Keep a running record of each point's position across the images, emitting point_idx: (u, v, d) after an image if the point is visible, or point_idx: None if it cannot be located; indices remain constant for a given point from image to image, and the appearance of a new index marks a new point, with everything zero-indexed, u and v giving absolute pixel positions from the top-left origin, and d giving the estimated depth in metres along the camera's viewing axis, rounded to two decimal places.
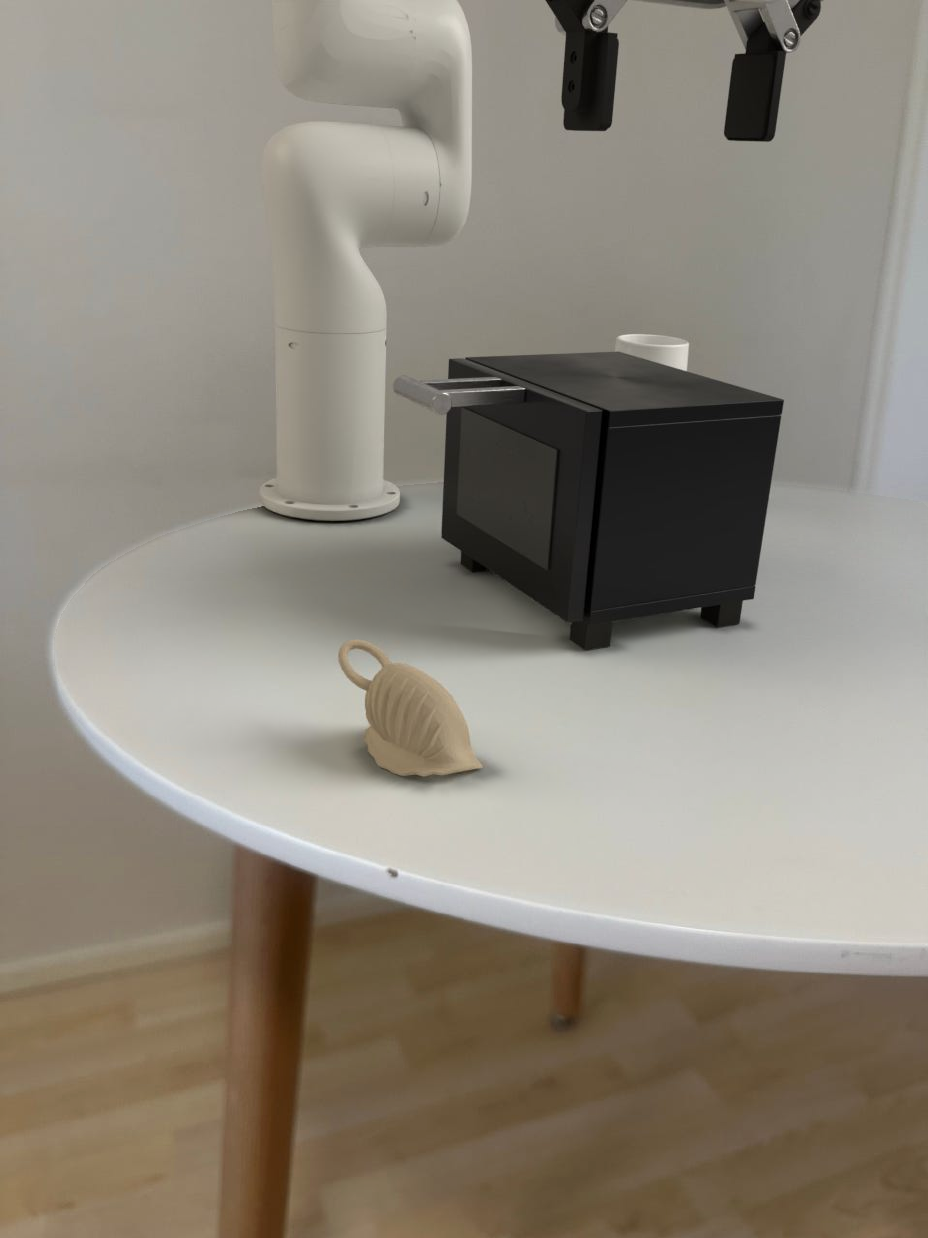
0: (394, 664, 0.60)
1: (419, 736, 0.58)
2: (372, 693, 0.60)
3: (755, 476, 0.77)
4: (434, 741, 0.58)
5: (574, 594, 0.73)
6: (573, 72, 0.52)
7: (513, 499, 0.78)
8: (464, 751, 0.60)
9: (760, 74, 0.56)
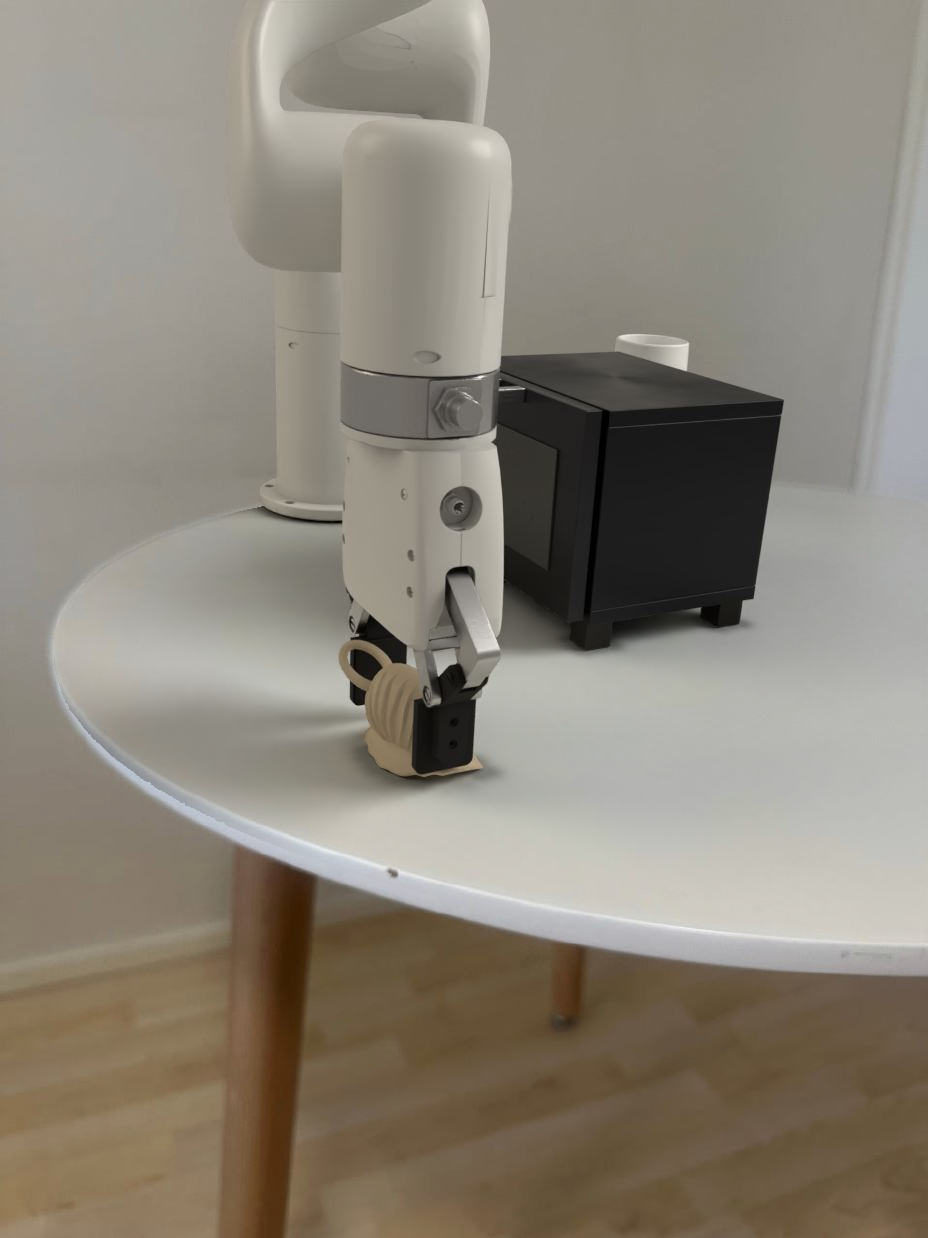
0: (394, 664, 0.60)
1: None
2: (372, 693, 0.60)
3: (755, 476, 0.77)
4: None
5: (574, 594, 0.73)
6: None
7: (513, 499, 0.78)
8: None
9: None
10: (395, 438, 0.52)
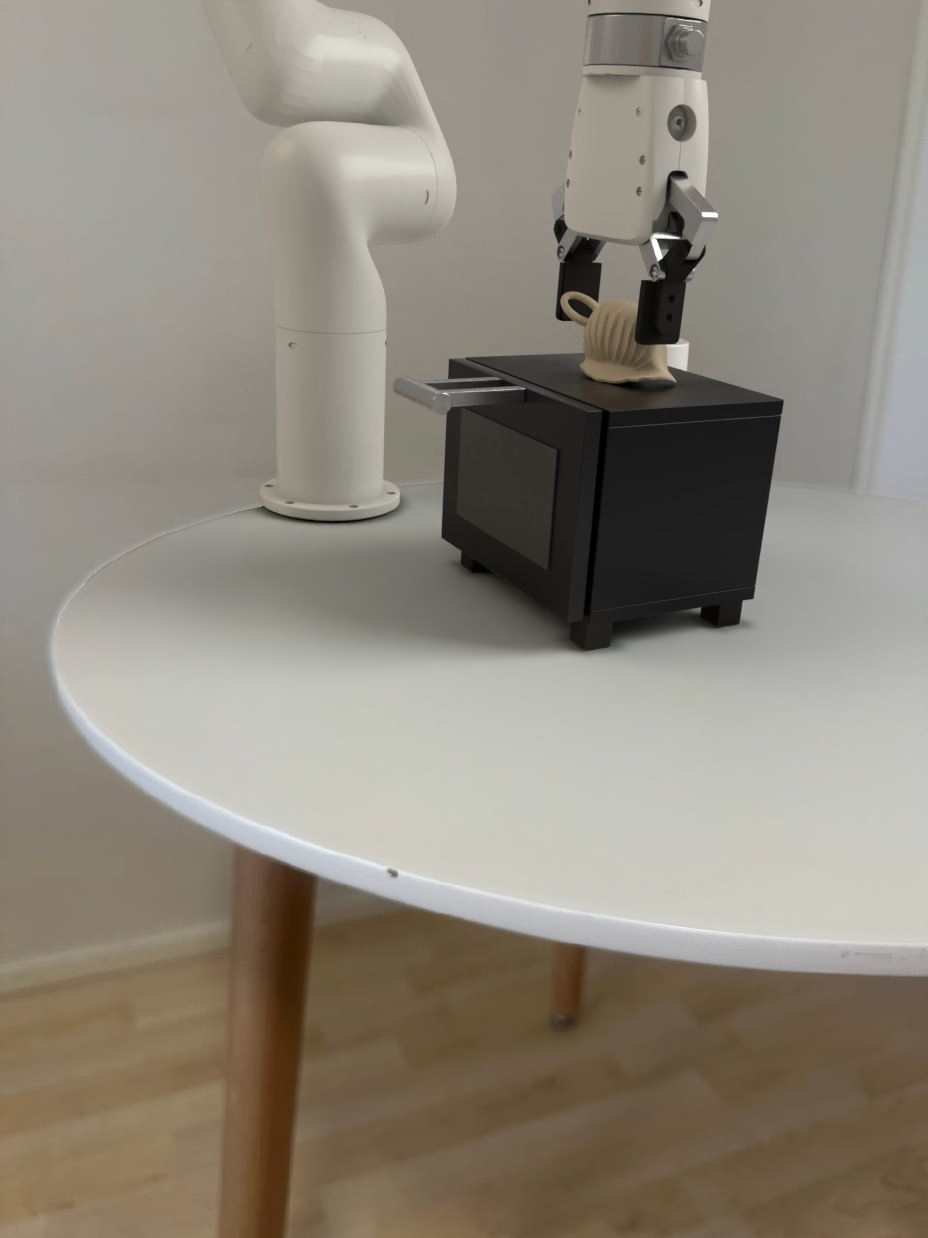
0: None
1: (633, 347, 0.76)
2: (591, 323, 0.78)
3: (755, 476, 0.77)
4: (645, 351, 0.76)
5: (574, 594, 0.73)
6: None
7: (513, 499, 0.78)
8: (663, 367, 0.78)
9: None
10: (635, 66, 0.69)
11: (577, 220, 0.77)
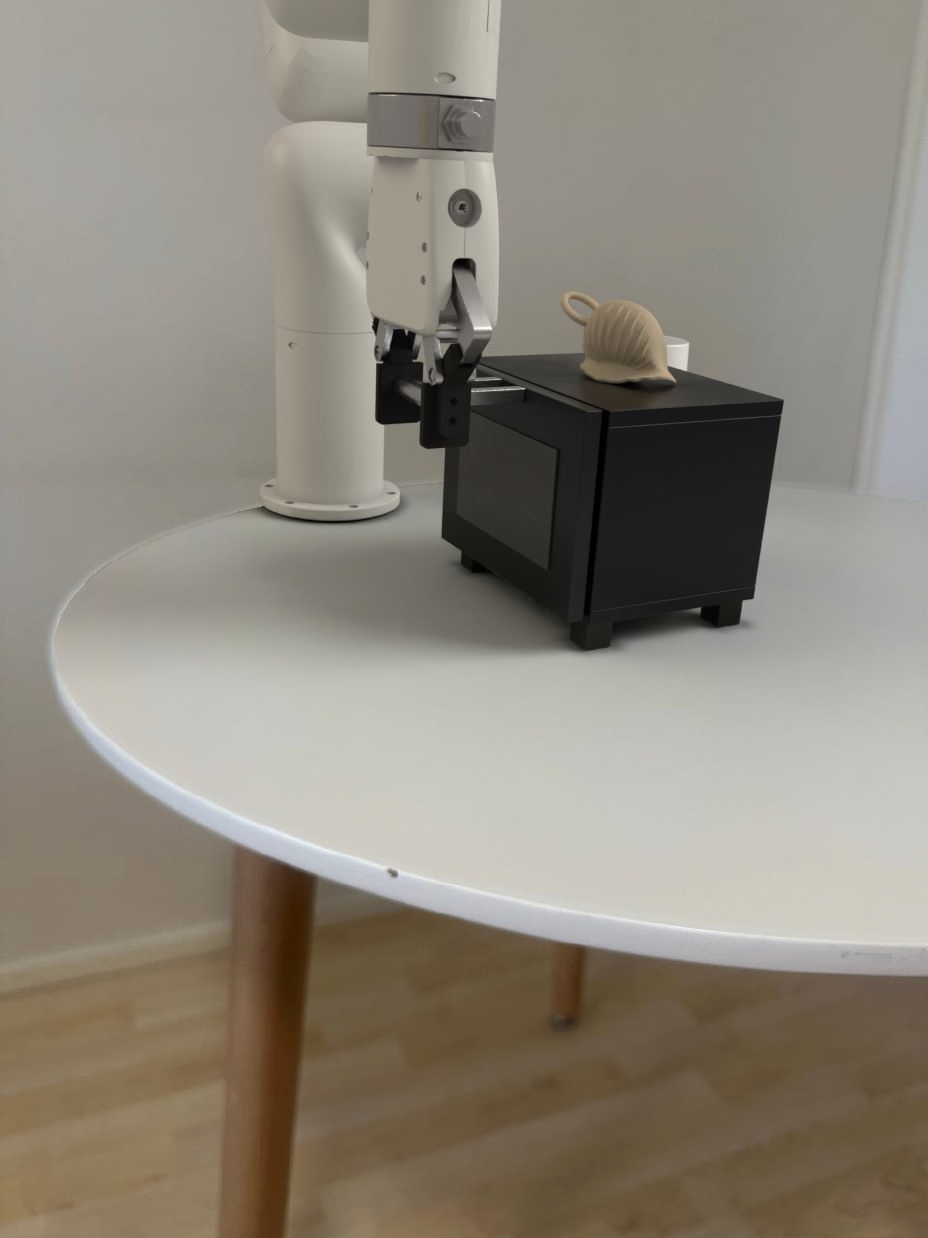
0: None
1: (633, 347, 0.76)
2: (592, 323, 0.78)
3: (755, 476, 0.77)
4: (645, 351, 0.76)
5: (574, 594, 0.73)
6: None
7: (513, 499, 0.78)
8: (663, 367, 0.78)
9: None
10: (412, 148, 0.65)
11: (376, 304, 0.73)
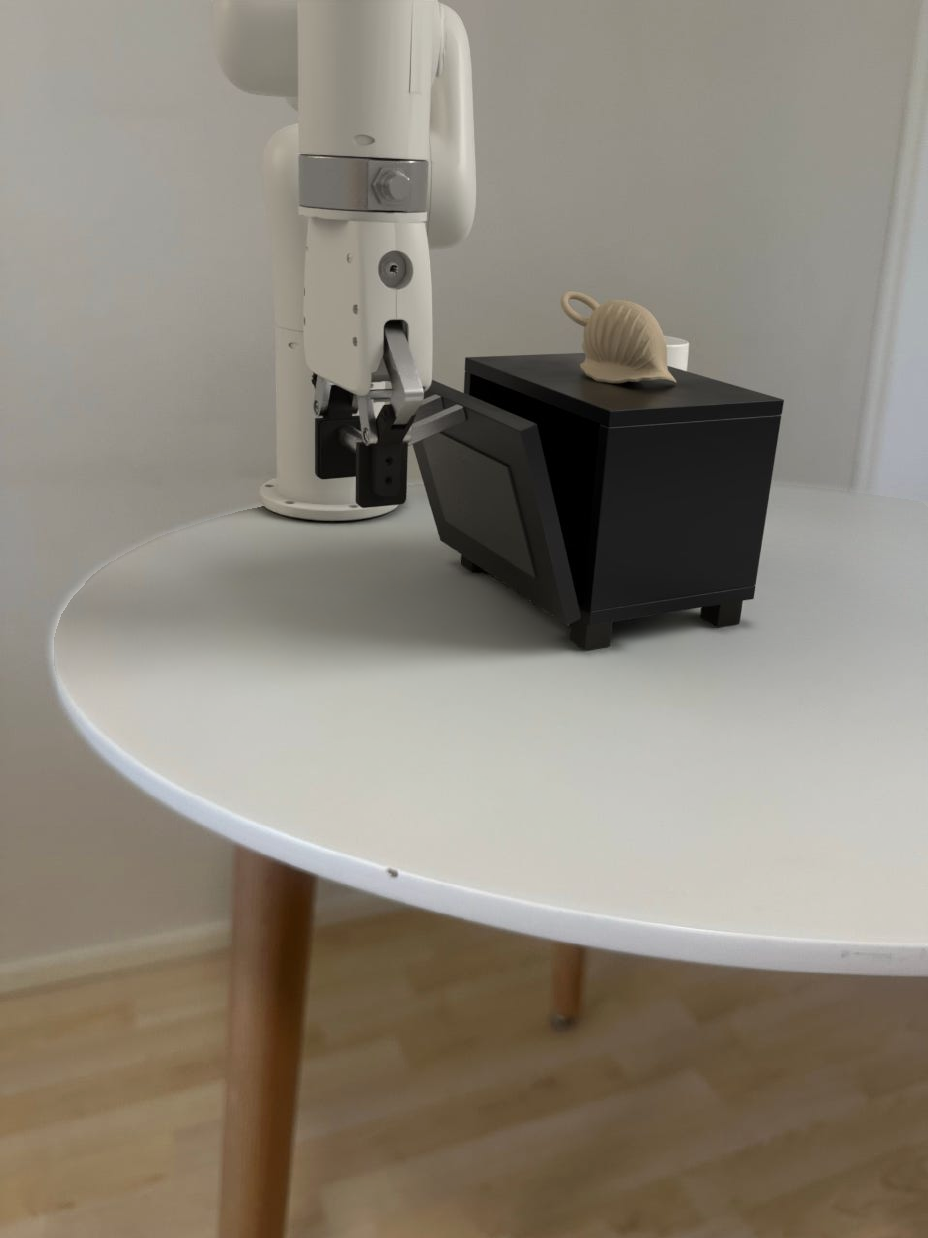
0: None
1: (633, 347, 0.76)
2: (592, 323, 0.78)
3: (755, 476, 0.77)
4: (645, 351, 0.76)
5: (565, 598, 0.73)
6: None
7: (486, 510, 0.77)
8: (663, 367, 0.78)
9: None
10: (341, 210, 0.64)
11: (313, 361, 0.72)
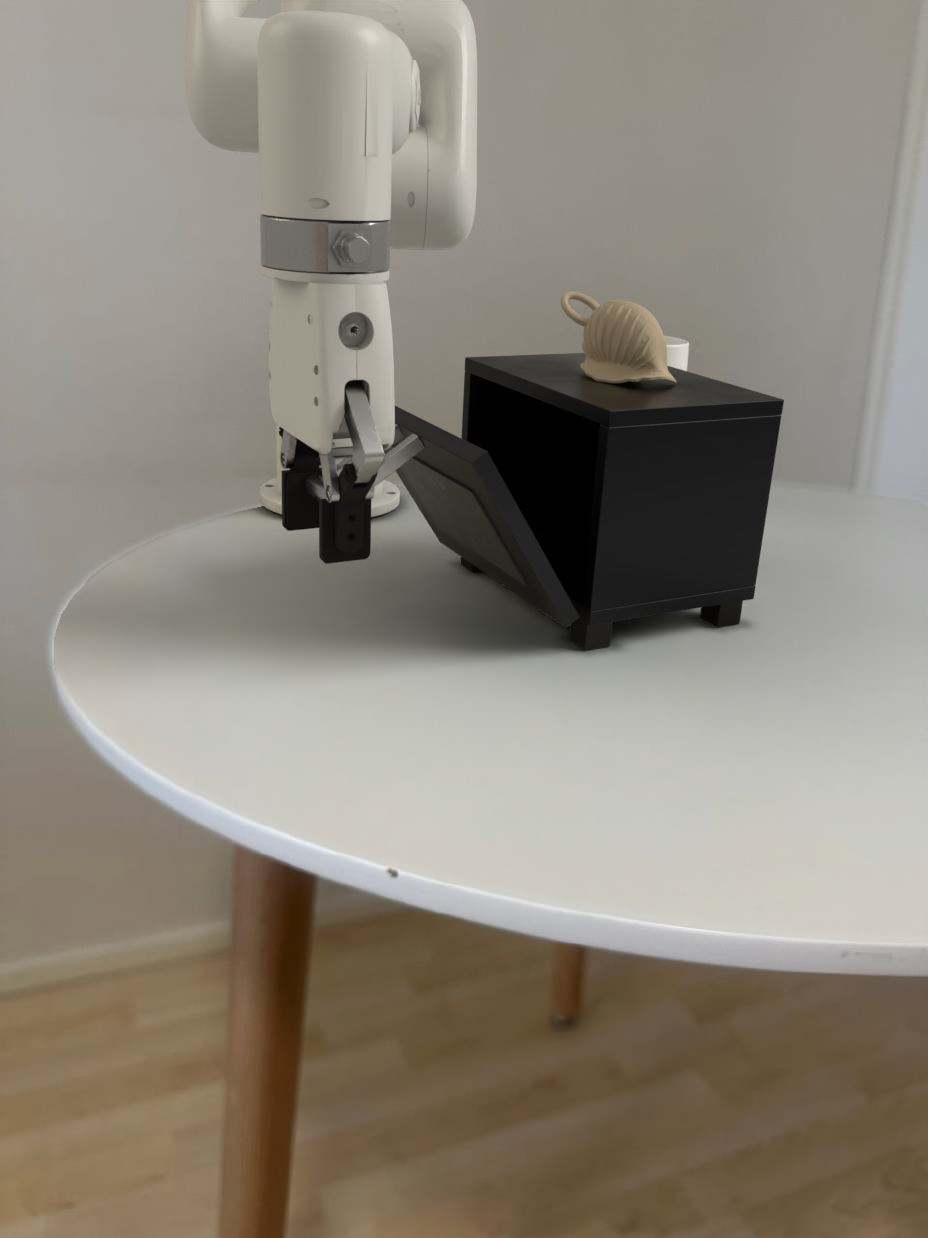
0: None
1: (633, 347, 0.76)
2: (592, 323, 0.78)
3: (755, 476, 0.77)
4: (645, 351, 0.76)
5: (558, 604, 0.73)
6: None
7: (467, 525, 0.77)
8: (663, 367, 0.78)
9: None
10: (302, 272, 0.64)
11: (278, 415, 0.72)
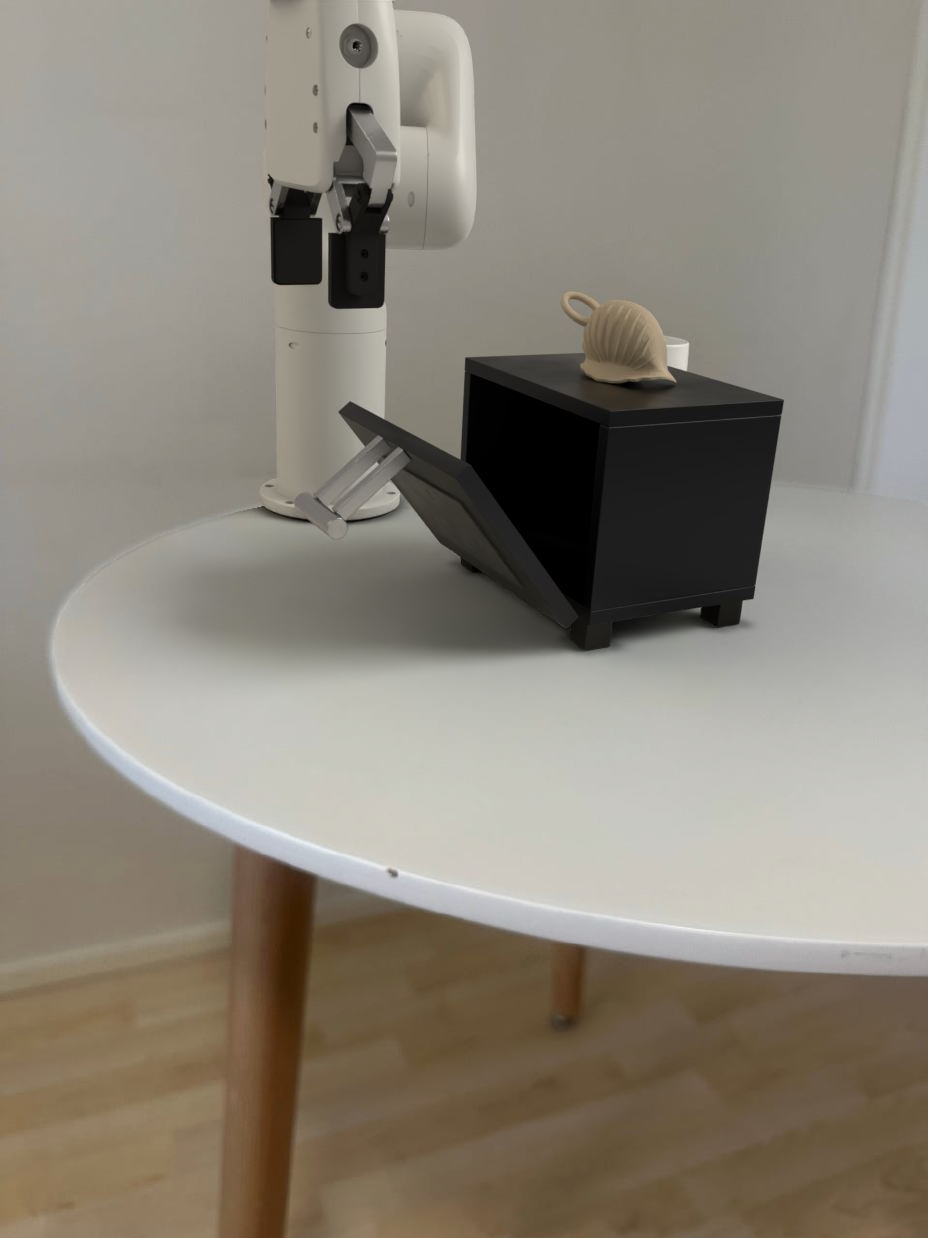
0: None
1: (633, 347, 0.76)
2: (592, 323, 0.78)
3: (755, 476, 0.77)
4: (645, 351, 0.76)
5: (556, 606, 0.73)
6: None
7: (461, 531, 0.77)
8: (663, 367, 0.78)
9: None
10: None
11: (275, 166, 0.67)
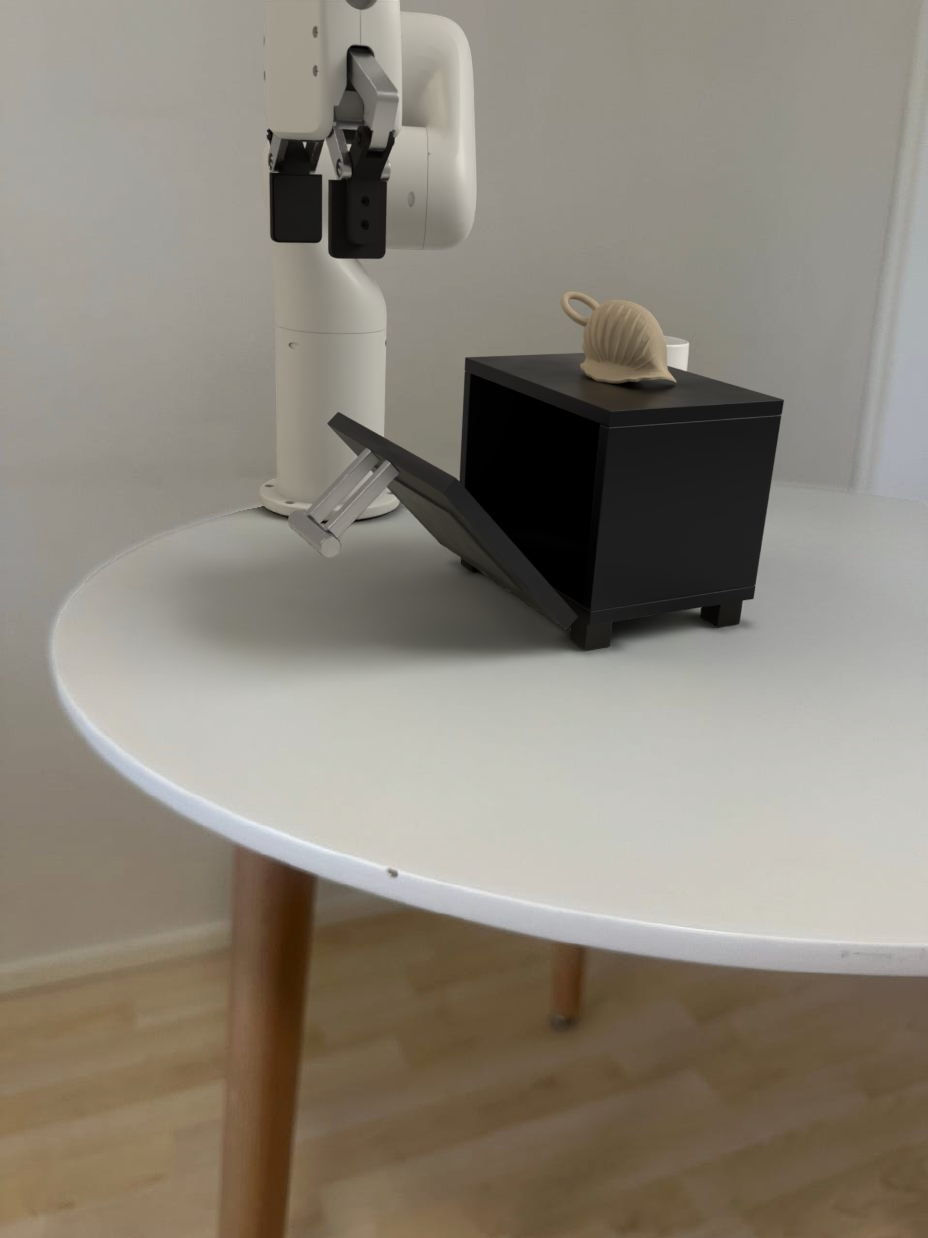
0: None
1: (633, 347, 0.76)
2: (592, 323, 0.78)
3: (755, 476, 0.77)
4: (645, 351, 0.76)
5: (554, 608, 0.73)
6: None
7: (456, 537, 0.77)
8: (663, 367, 0.78)
9: None
10: None
11: (274, 118, 0.66)
